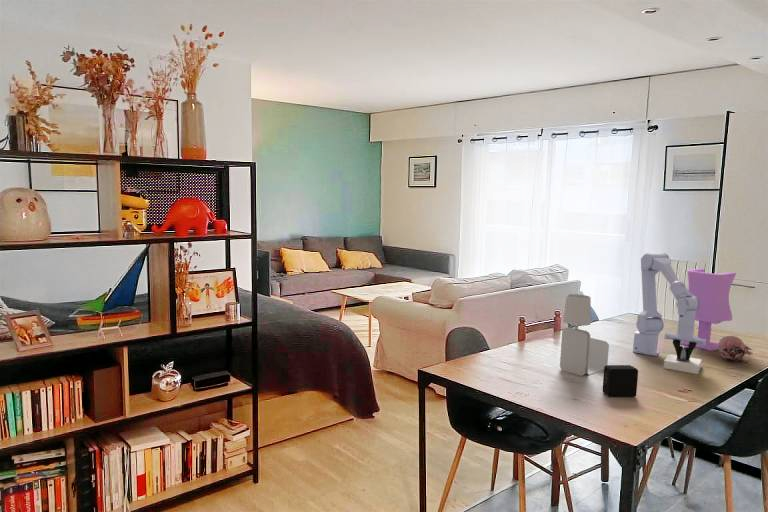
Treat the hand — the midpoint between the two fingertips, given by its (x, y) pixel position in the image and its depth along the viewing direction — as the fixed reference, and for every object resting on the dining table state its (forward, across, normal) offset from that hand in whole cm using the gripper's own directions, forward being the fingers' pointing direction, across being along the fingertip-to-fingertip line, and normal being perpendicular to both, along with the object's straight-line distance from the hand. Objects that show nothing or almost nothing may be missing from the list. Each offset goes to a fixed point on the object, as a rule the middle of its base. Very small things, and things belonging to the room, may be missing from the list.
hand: (683, 359), depth 219 cm
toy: (+4, +17, +24) cm, 30 cm away
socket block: (+3, 0, 0) cm, 3 cm away
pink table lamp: (+4, +4, +44) cm, 44 cm away
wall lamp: (+4, -32, -30) cm, 44 cm away
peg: (+2, 0, 0) cm, 2 cm away
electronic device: (+4, -14, -50) cm, 52 cm away
